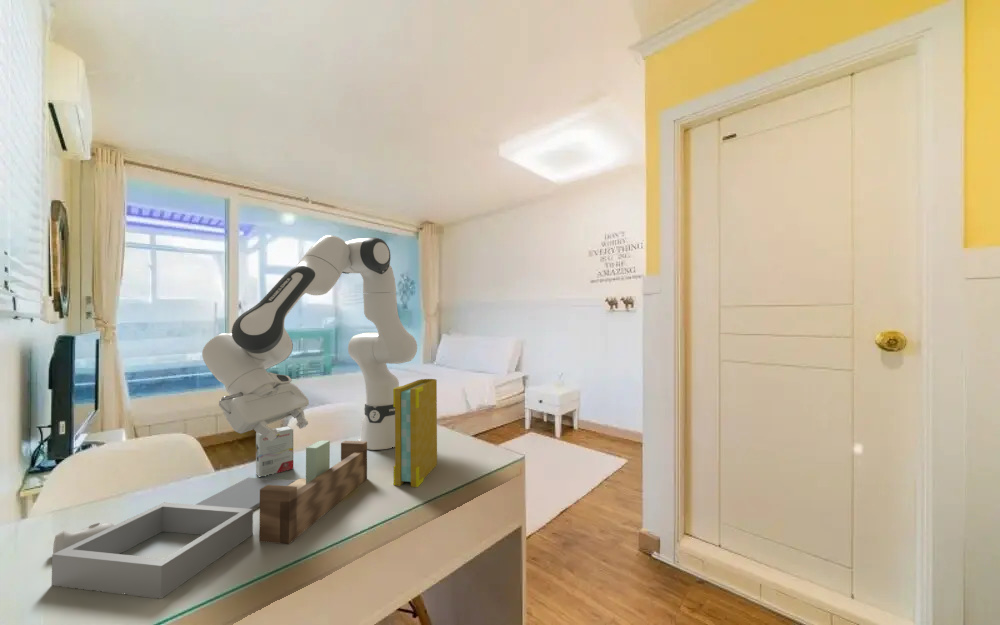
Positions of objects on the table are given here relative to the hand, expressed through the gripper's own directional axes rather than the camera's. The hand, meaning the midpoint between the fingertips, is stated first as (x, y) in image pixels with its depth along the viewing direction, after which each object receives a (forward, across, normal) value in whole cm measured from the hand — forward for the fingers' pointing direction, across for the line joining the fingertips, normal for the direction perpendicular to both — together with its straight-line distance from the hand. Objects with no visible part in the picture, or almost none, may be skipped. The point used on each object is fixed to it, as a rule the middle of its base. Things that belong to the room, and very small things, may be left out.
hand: (290, 431), depth 85 cm
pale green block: (+17, 0, +7) cm, 18 cm away
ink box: (-1, +16, +25) cm, 29 cm away
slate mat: (+3, 0, +21) cm, 21 cm away
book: (+29, +20, -5) cm, 35 cm away
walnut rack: (+17, 0, +6) cm, 18 cm away
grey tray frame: (+6, -21, +18) cm, 28 cm away
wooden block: (+12, 0, +12) cm, 17 cm away
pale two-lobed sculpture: (-7, -20, +32) cm, 38 cm away
